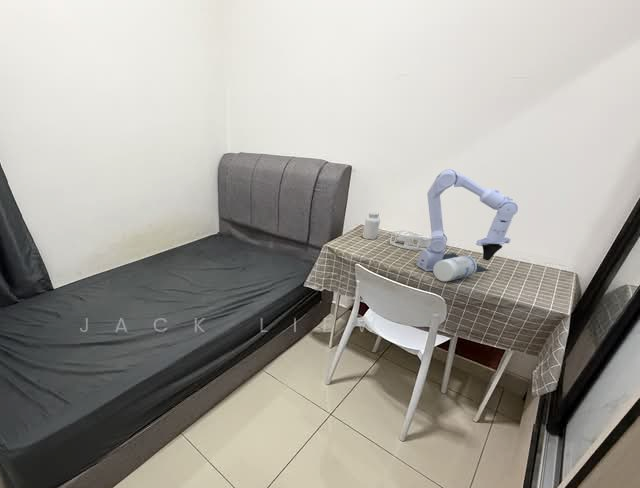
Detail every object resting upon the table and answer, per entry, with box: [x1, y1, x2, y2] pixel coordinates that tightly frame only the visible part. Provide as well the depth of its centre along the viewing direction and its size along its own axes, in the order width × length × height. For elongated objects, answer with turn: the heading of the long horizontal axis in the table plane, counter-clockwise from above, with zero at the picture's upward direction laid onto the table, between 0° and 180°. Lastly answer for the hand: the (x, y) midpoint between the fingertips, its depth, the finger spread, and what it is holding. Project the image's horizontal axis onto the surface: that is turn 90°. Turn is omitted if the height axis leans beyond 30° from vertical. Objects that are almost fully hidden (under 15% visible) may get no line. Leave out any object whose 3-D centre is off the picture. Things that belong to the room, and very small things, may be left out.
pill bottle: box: [362, 211, 381, 240], centre depth 178 cm, size 8×8×15 cm
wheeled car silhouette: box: [389, 229, 431, 251], centre depth 167 cm, size 20×11×7 cm, turn 41°
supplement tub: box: [432, 254, 478, 282], centre depth 132 cm, size 10×10×15 cm
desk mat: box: [442, 253, 488, 273], centre depth 148 cm, size 16×20×1 cm
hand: (486, 259), depth 131 cm, fingers closed
